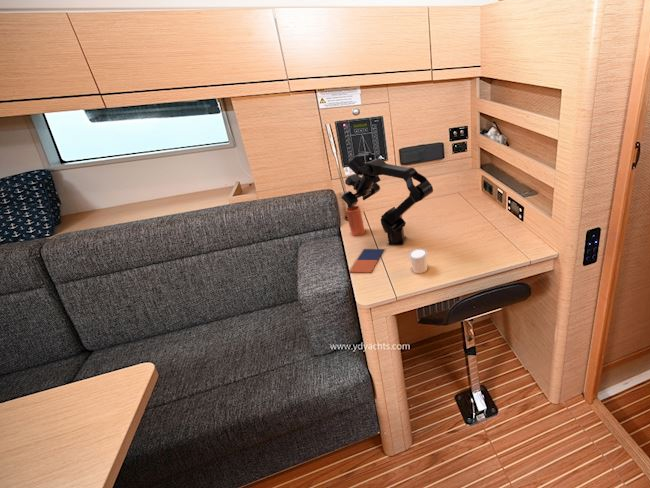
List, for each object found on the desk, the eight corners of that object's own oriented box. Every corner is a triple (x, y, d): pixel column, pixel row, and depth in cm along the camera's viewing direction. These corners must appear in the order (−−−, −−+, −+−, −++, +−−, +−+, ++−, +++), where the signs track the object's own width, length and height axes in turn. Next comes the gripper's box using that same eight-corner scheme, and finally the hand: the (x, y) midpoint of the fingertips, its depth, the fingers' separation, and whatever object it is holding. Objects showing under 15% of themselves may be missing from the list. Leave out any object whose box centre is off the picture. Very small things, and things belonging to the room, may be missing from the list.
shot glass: (421, 261, 134) (419, 246, 132) (432, 267, 130) (430, 252, 127) (407, 269, 130) (405, 254, 127) (419, 276, 125) (416, 260, 123)
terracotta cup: (366, 229, 164) (361, 205, 159) (362, 235, 158) (356, 211, 153) (354, 229, 165) (349, 205, 160) (349, 236, 159) (343, 211, 154)
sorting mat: (384, 249, 145) (383, 249, 145) (371, 272, 130) (370, 272, 130) (364, 249, 146) (364, 249, 146) (349, 272, 132) (349, 271, 131)
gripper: (369, 163, 155) (359, 184, 164) (338, 176, 140) (328, 199, 150) (385, 179, 153) (374, 200, 163) (355, 195, 139) (345, 216, 148)
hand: (356, 203), depth 156 cm, fingers open, 9 cm apart
